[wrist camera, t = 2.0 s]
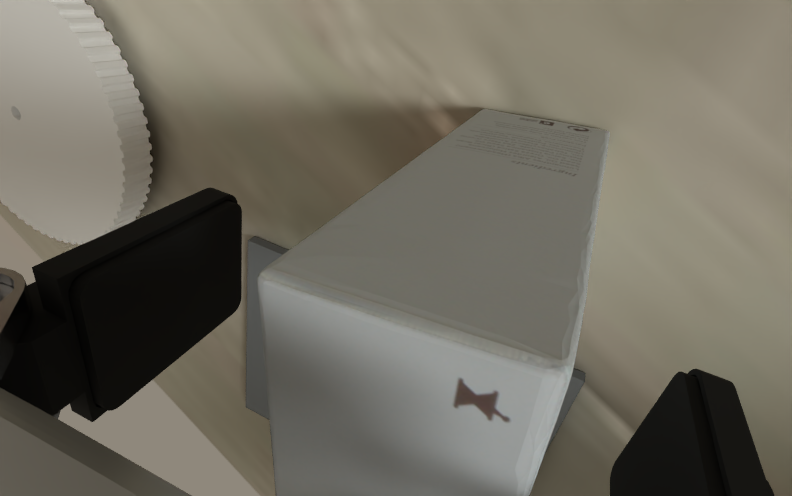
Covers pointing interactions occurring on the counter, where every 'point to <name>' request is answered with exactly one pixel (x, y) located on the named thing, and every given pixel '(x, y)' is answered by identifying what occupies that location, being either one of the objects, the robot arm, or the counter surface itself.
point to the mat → (256, 384)
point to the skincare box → (436, 318)
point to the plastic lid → (68, 122)
